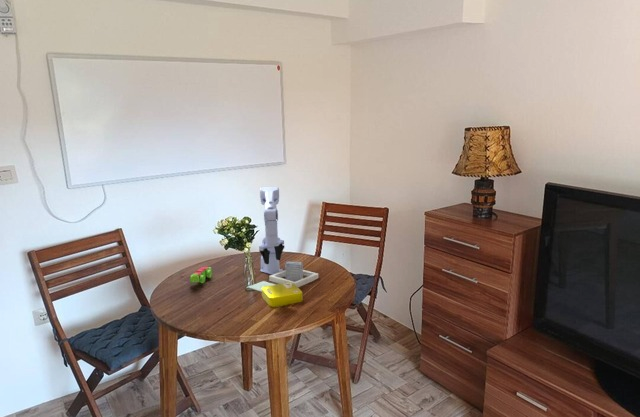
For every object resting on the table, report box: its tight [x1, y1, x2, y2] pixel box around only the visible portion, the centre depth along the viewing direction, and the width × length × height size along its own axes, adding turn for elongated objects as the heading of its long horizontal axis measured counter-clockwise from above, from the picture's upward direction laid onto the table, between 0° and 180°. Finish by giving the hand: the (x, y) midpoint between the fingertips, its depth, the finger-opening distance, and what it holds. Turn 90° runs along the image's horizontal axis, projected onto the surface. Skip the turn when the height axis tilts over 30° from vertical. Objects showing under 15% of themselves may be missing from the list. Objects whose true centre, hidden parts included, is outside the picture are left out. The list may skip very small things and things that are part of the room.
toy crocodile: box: [189, 266, 213, 284], centre depth 213 cm, size 20×7×6 cm, turn 172°
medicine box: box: [284, 260, 304, 282], centre depth 211 cm, size 8×4×9 cm, turn 77°
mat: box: [247, 280, 276, 293], centre depth 203 cm, size 10×10×1 cm
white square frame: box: [268, 269, 319, 288], centre depth 212 cm, size 17×17×2 cm
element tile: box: [261, 282, 304, 308], centre depth 189 cm, size 15×15×5 cm
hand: (272, 261), depth 207 cm, fingers open, 7 cm apart
